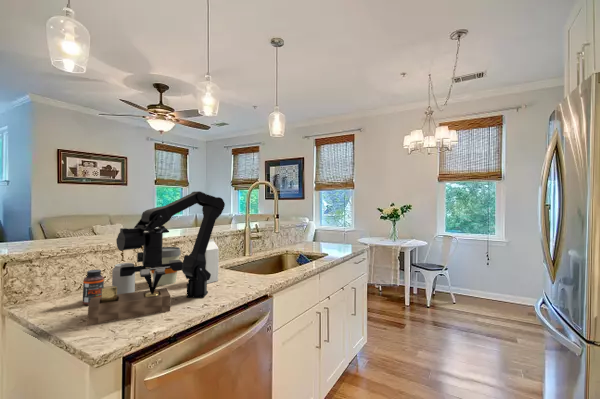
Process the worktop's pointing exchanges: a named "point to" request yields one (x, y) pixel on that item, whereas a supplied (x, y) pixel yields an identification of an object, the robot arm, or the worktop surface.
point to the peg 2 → (151, 294)
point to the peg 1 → (109, 294)
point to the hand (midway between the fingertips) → (152, 293)
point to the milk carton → (212, 260)
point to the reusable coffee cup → (168, 255)
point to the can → (123, 280)
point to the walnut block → (128, 306)
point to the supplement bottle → (92, 285)
